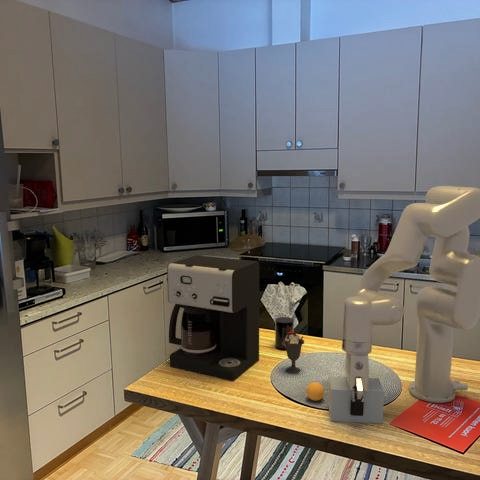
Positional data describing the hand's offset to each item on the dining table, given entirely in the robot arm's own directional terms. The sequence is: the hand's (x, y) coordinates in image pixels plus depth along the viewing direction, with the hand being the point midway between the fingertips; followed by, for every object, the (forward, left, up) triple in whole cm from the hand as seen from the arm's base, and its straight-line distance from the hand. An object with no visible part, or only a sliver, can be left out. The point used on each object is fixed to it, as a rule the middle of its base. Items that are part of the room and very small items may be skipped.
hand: (354, 405), depth 129 cm
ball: (+10, -8, 0) cm, 12 cm away
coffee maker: (+44, -31, -3) cm, 54 cm away
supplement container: (+19, -47, -3) cm, 50 cm away
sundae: (+16, -27, -3) cm, 31 cm away
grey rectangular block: (0, 0, -3) cm, 3 cm away
